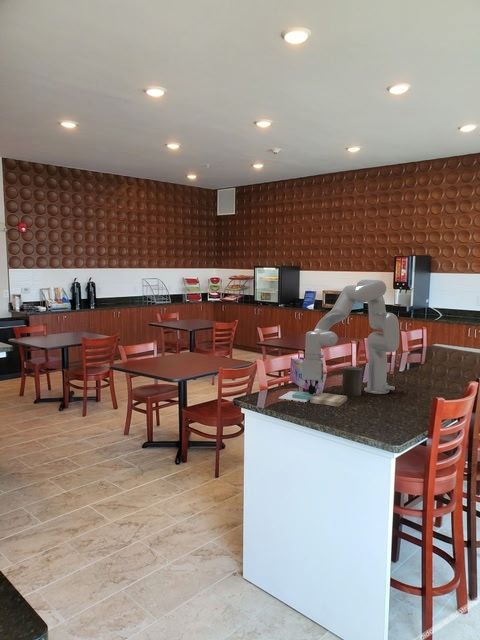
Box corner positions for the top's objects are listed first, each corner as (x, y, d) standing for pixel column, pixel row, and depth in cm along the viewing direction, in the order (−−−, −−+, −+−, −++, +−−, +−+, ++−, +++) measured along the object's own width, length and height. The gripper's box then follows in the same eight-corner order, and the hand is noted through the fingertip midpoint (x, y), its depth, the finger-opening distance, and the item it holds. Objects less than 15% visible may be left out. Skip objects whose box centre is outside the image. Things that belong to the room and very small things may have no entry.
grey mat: (316, 395, 246) (316, 394, 246) (305, 402, 231) (305, 401, 231) (290, 392, 252) (290, 391, 252) (278, 398, 238) (278, 397, 238)
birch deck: (346, 399, 237) (347, 395, 237) (339, 406, 225) (339, 402, 225) (319, 396, 244) (319, 392, 244) (310, 402, 231) (310, 398, 231)
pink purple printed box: (288, 380, 281) (289, 357, 280) (300, 379, 284) (301, 356, 282) (305, 389, 258) (306, 364, 257) (319, 388, 261) (319, 363, 260)
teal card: (316, 396, 241) (316, 393, 241) (311, 400, 234) (311, 397, 233) (297, 394, 245) (297, 391, 245) (292, 397, 238) (292, 394, 238)
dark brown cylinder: (347, 397, 243) (348, 367, 242) (338, 392, 253) (339, 364, 251) (364, 396, 246) (366, 367, 245) (355, 391, 255) (356, 363, 254)
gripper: (330, 356, 236) (328, 393, 238) (300, 354, 243) (300, 390, 245) (325, 359, 230) (324, 397, 231) (295, 356, 236) (294, 393, 238)
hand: (311, 393), depth 238 cm, fingers closed
